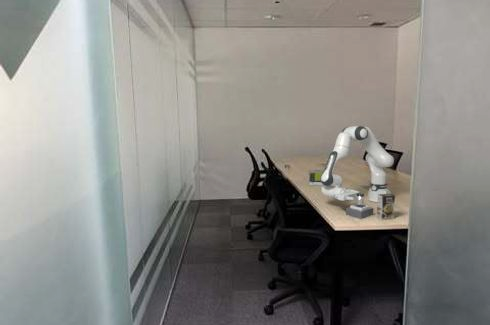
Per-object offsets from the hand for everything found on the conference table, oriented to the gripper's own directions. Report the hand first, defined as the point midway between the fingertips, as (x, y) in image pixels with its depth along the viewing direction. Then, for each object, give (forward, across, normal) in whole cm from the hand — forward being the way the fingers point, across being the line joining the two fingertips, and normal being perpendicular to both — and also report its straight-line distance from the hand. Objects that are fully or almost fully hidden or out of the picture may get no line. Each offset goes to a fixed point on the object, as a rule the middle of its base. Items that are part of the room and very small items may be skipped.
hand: (357, 197), depth 234 cm
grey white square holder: (+2, 0, +12) cm, 12 cm away
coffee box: (+17, +7, +12) cm, 22 cm away
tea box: (-84, +55, +12) cm, 101 cm away
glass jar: (+2, 0, +7) cm, 7 cm away
